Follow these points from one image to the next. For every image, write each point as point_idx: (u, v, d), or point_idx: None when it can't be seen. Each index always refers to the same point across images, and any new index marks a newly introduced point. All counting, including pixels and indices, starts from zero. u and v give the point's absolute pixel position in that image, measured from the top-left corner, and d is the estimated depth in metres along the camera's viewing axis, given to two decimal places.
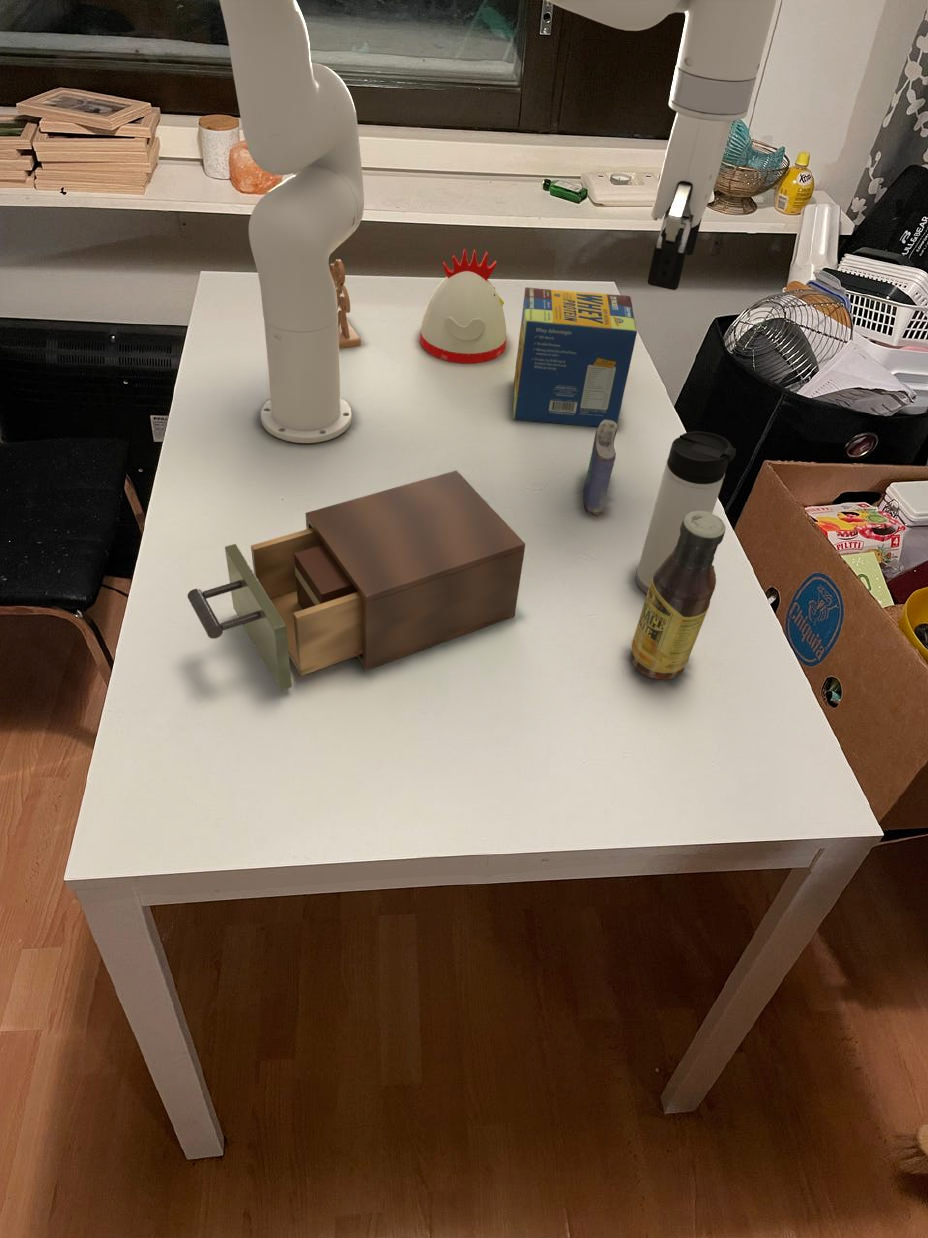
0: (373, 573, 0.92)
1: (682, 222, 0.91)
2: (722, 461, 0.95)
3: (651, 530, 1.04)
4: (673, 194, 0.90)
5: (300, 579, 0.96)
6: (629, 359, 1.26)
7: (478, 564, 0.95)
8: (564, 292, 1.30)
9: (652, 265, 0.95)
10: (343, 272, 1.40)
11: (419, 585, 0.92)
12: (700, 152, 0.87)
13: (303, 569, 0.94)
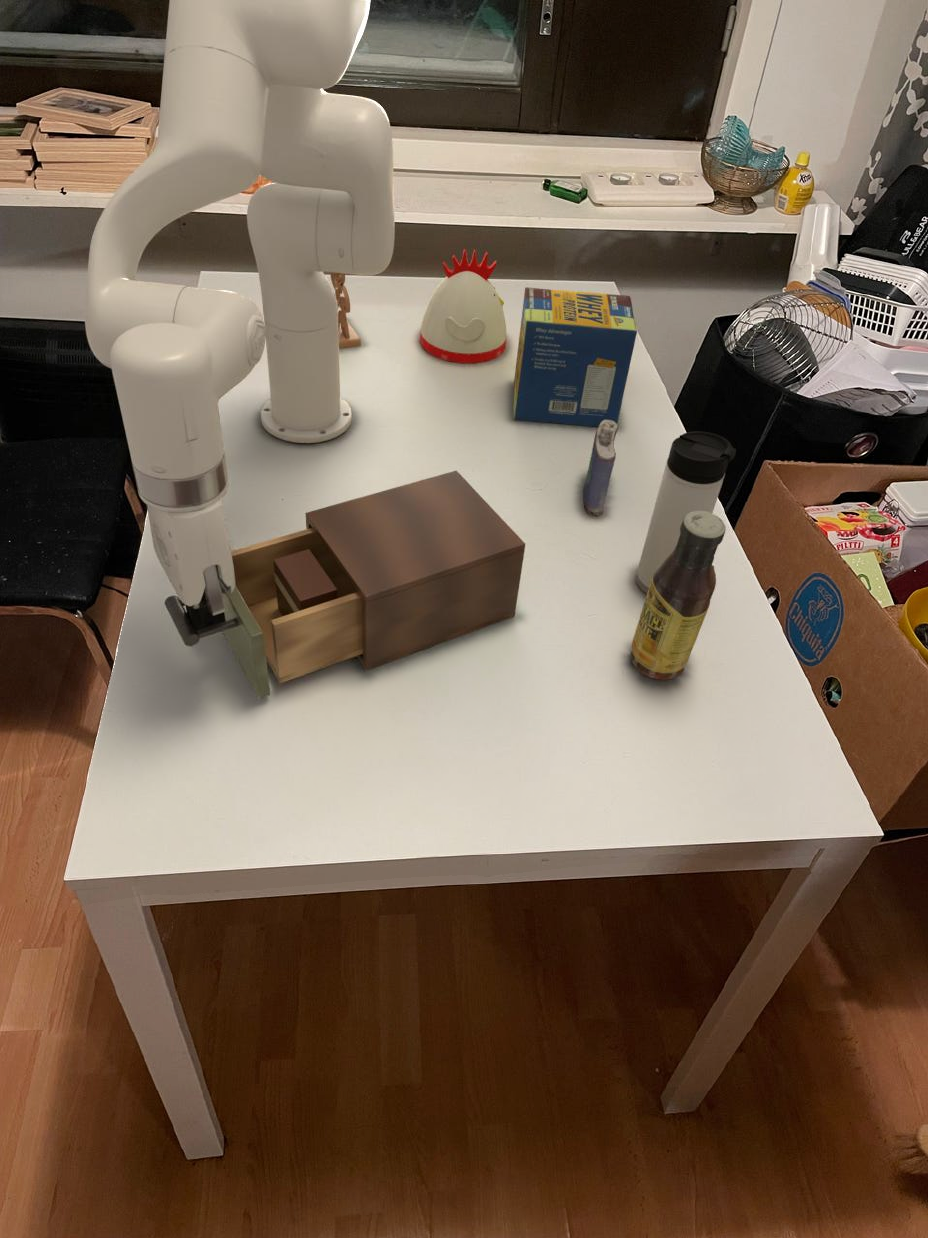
0: (373, 573, 0.92)
1: None
2: (722, 461, 0.95)
3: (651, 530, 1.04)
4: (203, 581, 0.80)
5: (279, 585, 0.95)
6: (629, 359, 1.26)
7: (478, 564, 0.95)
8: (564, 292, 1.30)
9: (193, 621, 0.88)
10: None
11: (419, 585, 0.92)
12: (214, 538, 0.78)
13: (282, 575, 0.93)
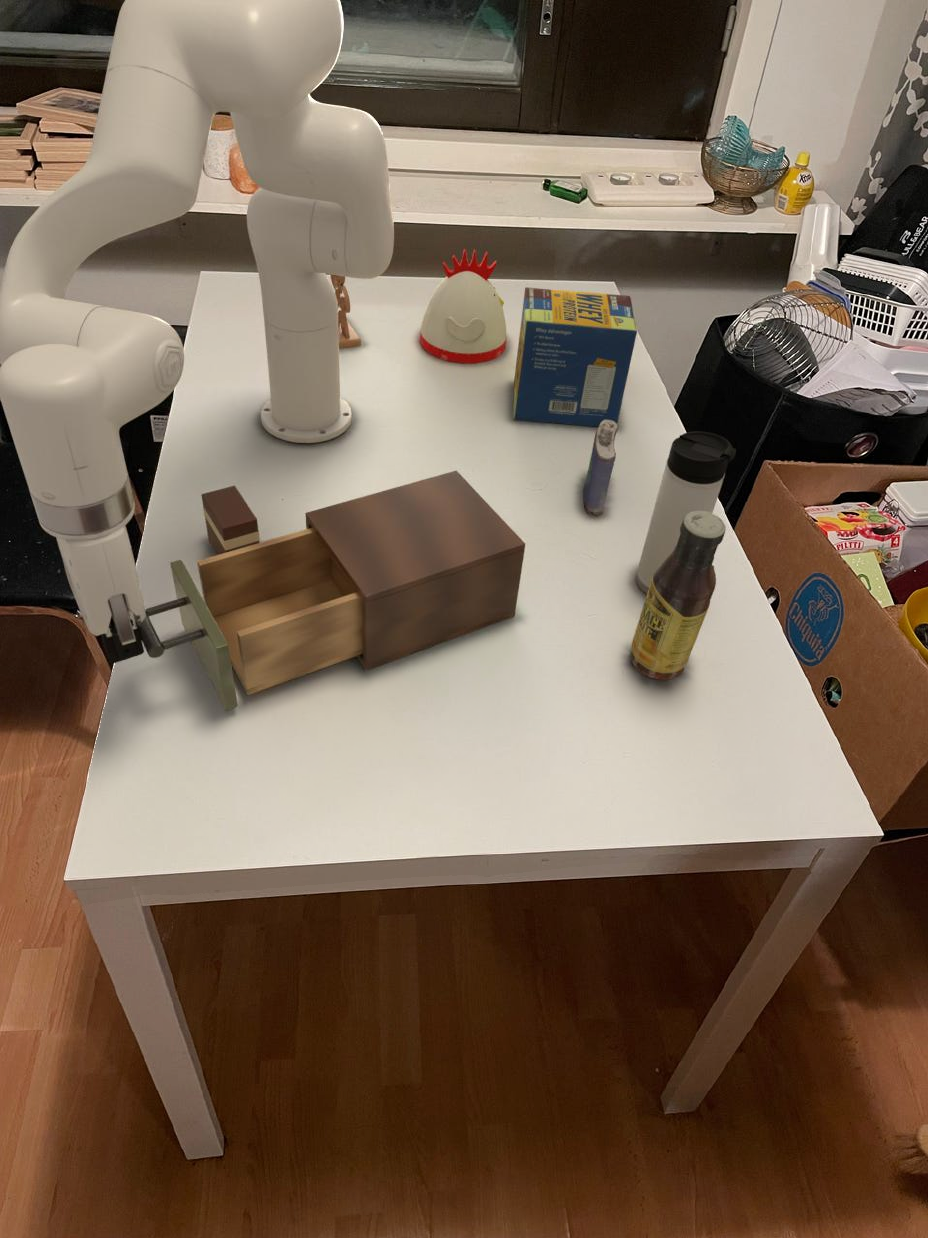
0: (373, 573, 0.92)
1: None
2: (722, 461, 0.95)
3: (651, 530, 1.04)
4: (108, 610, 0.77)
5: (207, 518, 1.05)
6: (629, 359, 1.26)
7: (478, 564, 0.95)
8: (564, 292, 1.30)
9: (108, 649, 0.85)
10: None
11: (419, 585, 0.92)
12: (117, 567, 0.75)
13: (208, 508, 1.03)
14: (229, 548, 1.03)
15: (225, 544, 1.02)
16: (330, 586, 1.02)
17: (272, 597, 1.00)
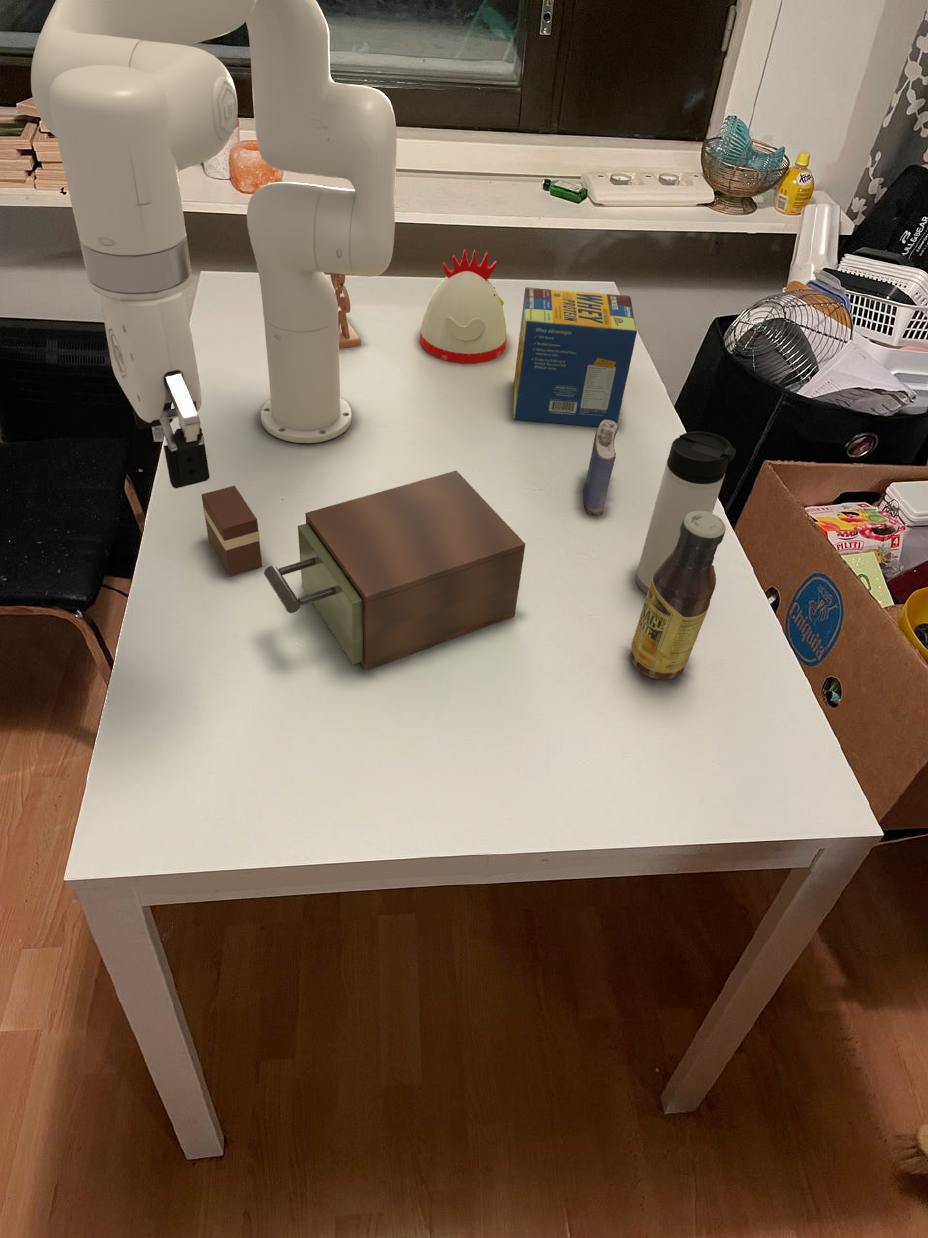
0: (373, 573, 0.92)
1: None
2: (722, 461, 0.95)
3: (651, 530, 1.04)
4: (163, 390, 0.71)
5: (207, 518, 1.05)
6: (629, 359, 1.26)
7: (478, 564, 0.95)
8: (564, 292, 1.30)
9: (171, 468, 0.76)
10: None
11: (419, 585, 0.92)
12: (174, 336, 0.69)
13: (209, 508, 1.03)
14: (229, 548, 1.03)
15: (225, 544, 1.02)
16: None
17: None
